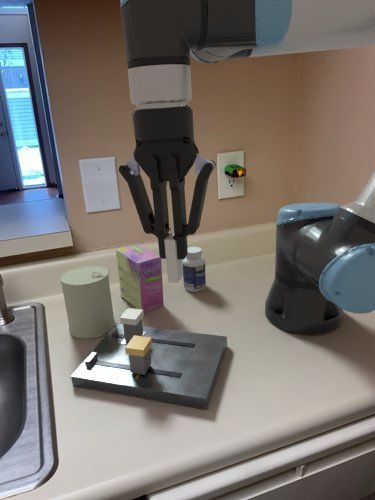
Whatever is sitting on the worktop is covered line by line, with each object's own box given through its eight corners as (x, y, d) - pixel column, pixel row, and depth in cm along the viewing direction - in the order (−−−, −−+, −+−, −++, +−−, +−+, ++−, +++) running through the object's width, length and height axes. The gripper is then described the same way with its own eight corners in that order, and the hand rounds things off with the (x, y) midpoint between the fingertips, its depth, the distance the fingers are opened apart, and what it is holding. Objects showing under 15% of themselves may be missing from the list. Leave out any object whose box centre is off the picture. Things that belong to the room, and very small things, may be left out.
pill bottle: (198, 294, 89) (197, 255, 86) (179, 289, 92) (177, 251, 88) (210, 285, 93) (209, 247, 90) (191, 280, 96) (189, 244, 93)
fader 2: (153, 362, 62) (151, 337, 61) (146, 376, 59) (143, 350, 58) (136, 360, 63) (134, 335, 62) (128, 373, 60) (125, 347, 59)
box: (165, 305, 85) (161, 256, 81) (142, 314, 82) (137, 263, 78) (142, 289, 93) (137, 243, 89) (120, 296, 90) (115, 249, 86)
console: (227, 346, 70) (227, 331, 69) (206, 409, 55) (206, 393, 54) (117, 331, 76) (115, 318, 75) (72, 386, 61) (70, 370, 60)
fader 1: (145, 332, 71) (143, 309, 69) (138, 343, 68) (135, 319, 66) (130, 330, 72) (127, 308, 70) (122, 340, 69) (119, 317, 67)
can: (104, 340, 73) (96, 283, 69) (60, 337, 75) (49, 281, 71) (121, 315, 82) (115, 263, 77) (81, 313, 83) (73, 262, 79)
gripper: (219, 102, 49) (224, 270, 58) (125, 108, 53) (142, 266, 61) (207, 103, 43) (214, 293, 51) (100, 110, 46) (124, 287, 54)
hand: (175, 278), depth 56 cm, fingers closed
